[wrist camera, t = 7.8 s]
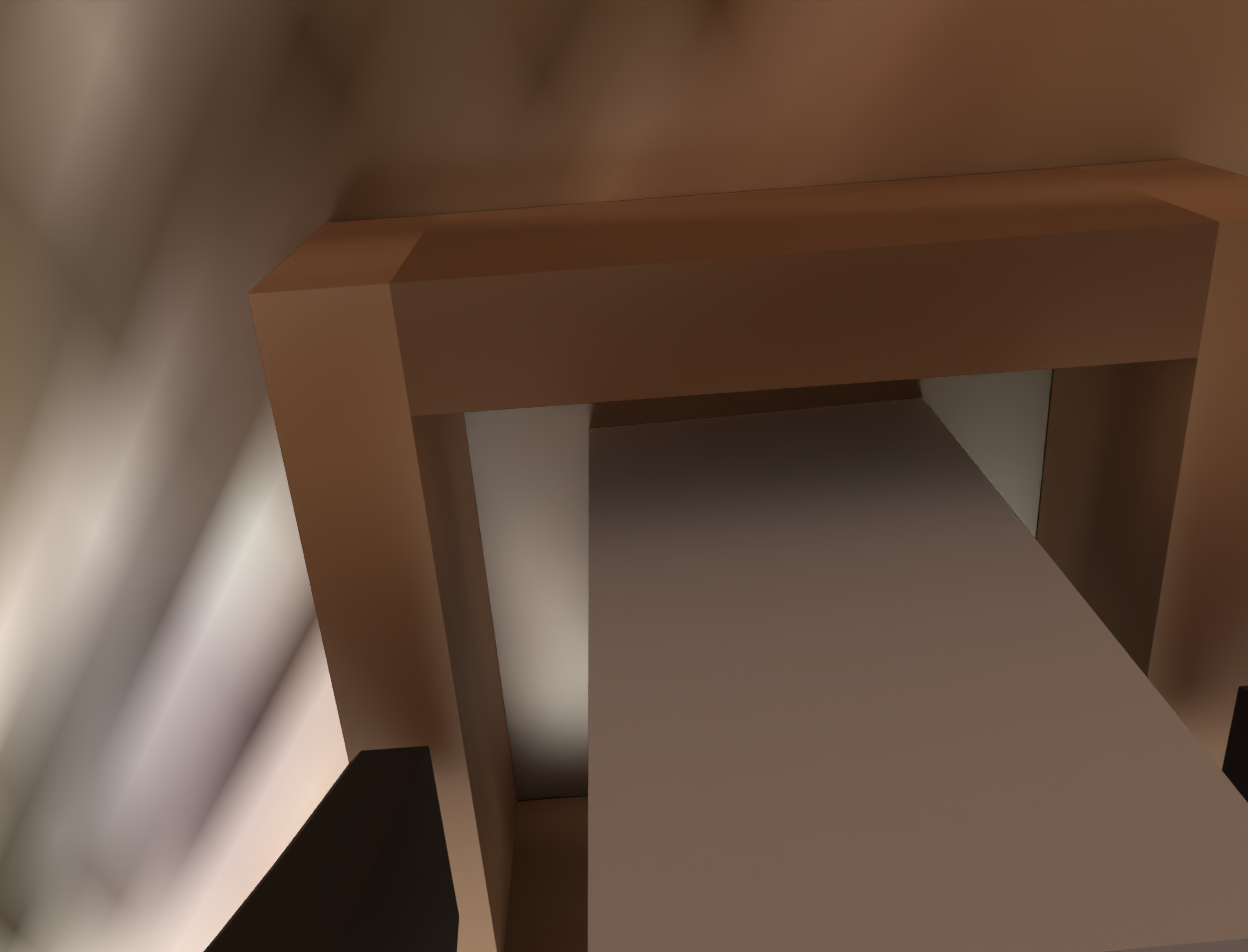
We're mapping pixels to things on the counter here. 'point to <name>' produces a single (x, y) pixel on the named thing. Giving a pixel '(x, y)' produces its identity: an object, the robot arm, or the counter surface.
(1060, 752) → the slate peg
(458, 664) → the frame
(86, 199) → the counter surface
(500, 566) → the counter surface
